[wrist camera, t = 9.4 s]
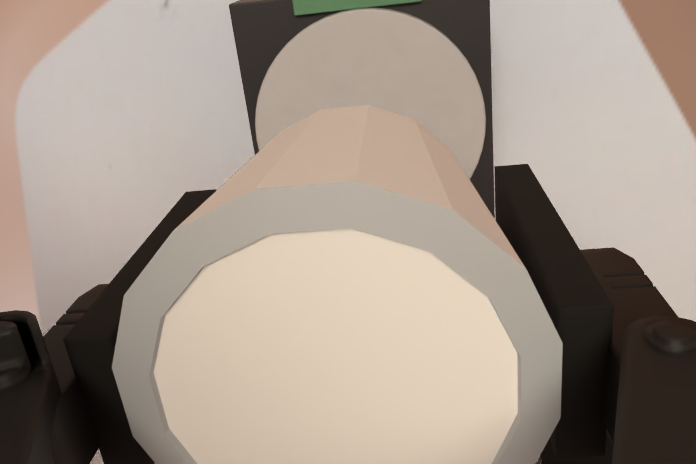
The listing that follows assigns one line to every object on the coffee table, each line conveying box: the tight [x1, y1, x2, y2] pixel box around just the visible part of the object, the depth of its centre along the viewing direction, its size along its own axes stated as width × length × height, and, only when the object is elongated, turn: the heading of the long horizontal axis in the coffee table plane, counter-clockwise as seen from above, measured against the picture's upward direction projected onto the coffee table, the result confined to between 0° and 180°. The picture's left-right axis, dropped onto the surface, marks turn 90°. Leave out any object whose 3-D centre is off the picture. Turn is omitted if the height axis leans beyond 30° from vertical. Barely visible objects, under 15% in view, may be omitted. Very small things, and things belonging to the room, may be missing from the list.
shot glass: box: [112, 105, 563, 464], centre depth 13 cm, size 7×7×7 cm
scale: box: [229, 0, 495, 219], centre depth 28 cm, size 9×9×10 cm
